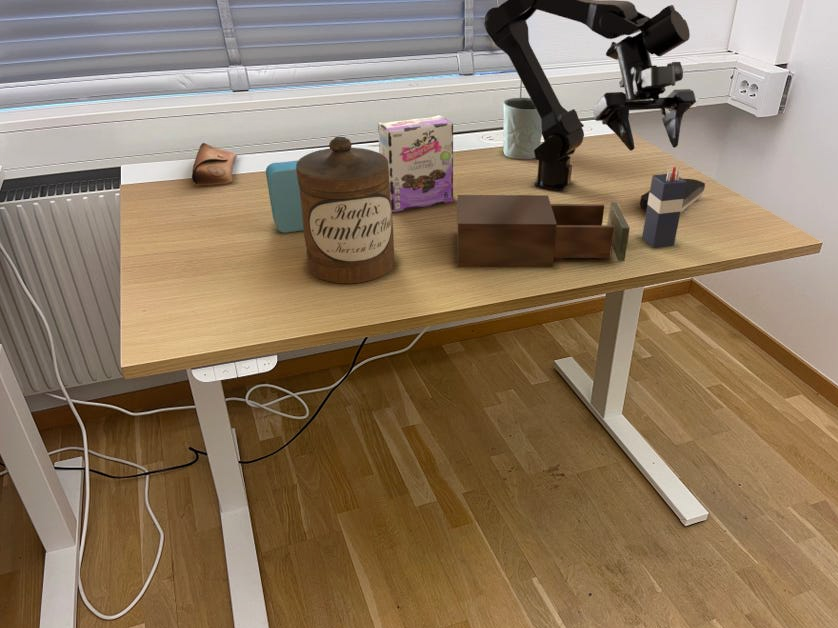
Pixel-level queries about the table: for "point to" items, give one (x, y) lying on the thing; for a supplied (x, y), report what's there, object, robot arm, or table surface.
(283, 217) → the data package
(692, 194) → the black sponge
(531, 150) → the green ceramic pot
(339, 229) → the wooden container
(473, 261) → the cabinet
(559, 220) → the drawer
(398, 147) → the candy box
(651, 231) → the straw box
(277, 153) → the table surface
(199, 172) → the sunglasses case
